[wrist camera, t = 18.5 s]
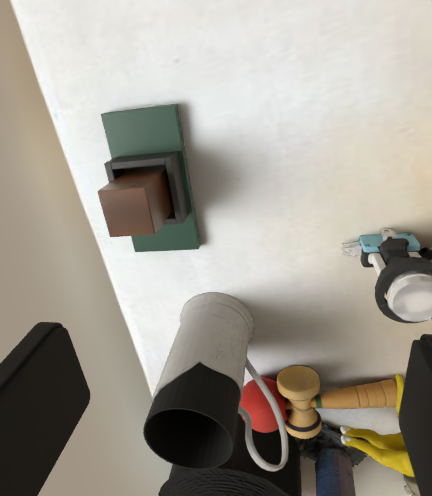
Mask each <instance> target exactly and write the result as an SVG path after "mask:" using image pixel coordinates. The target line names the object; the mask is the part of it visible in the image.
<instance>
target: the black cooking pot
mask: <svg viewBox="0 0 432 496" xmlns="http://www.w3.org/2000/svg"><path fill="white" fill-rule="evenodd" d="M245 429H246V423H245V422H244V420H243V418H242V416H241V414H239V413H238V416H237V424H236V432H235V440H234V448H233V453H232V455H231V457H230V458H229V459H228V460H227V461H226V462H225V463H223V464H222V465H220V466H218V467H215V468H211V469H203V470H198V469H188V468H183V467H180V466H177V465H174V464H173V465H172V469H171V473H170V476H169V480H167V481H166V482H165V483H164V484H163V486H162V487H161V489H160V492H159V494H158V495H159V496H302V495H301V469H300V454H299V453H300V452H299V447H298V444H297V442H296V441H295V439H294V438H293V437H292V436H291V434H289V433H288V432H287V430H286V432H287V436H288V450H289V451H288V460H287V462H286V463H285V465H284V467H283V468H281V469H279V470H277V471H267V470H265V469H263V468H261V467H260V466H259V465H258V464H257V463H256V462H255V461H254V460H253V458H252V457H251V455H250V453H249V451H248V448H247V445H246V440H245ZM252 439H253V444H254V446H255V448H256V450H257V452H258V454H259V455H260V456H261V458H262V459H263V460H264V461H266V462H267V463H269V464H272V465H279V464H280V463H281V458H282V442H281V435H280V430H279V429H277V430H275V431H273V432H268V433H262V432H258V431H256V430H254V429H252Z"/></svg>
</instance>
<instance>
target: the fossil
mask: <svg viewBox="0 0 432 496" xmlns="http://www.w3.org/2000/svg"><path fill="white" fill-rule="evenodd" d="M403 476H404V479H405V481H406V482H407V486H404V487H405V490H406V492H407V493H408V494H409V495H411V496H420V493H419V489H418V486H417V483H416V479H415V477H411V476H407V475H404V474H403Z"/></svg>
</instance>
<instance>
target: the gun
mask: <svg viewBox="0 0 432 496" xmlns="http://www.w3.org/2000/svg"><path fill="white" fill-rule="evenodd" d="M419 255H420V256H422V257H421V258H426V259H427V260H428V261H430V262H431V263H432V250H431V251H430V250H429V249H428V248H427V247H424V248H422V249H421V250H420V251H419ZM430 273H431V272H430ZM431 274H432V273H431Z"/></svg>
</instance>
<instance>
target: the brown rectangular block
mask: <svg viewBox="0 0 432 496" xmlns="http://www.w3.org/2000/svg"><path fill="white" fill-rule="evenodd" d="M98 195H99V198H100V202H101V206H102V209H103V213H104V216H105V220H106V224H107V227H108V231H109V234H110V237H119V236H137V235H155V234H156V233H157V231H158V230H159V229H160V227H161V226H162V224H163V223H164V222H165V220H166V219H167V218H168V216H169V215H170V214H171V212H172V211H173V209H174V206H173V201H172V195H171V190H170V185H169V179H168V174H167V169H166V165H163V166H152V167H141V168H131V169H129V170H127V171H126V172H124V173H123V174H122V175H120V176H119V177H117V178H116V179H115V180H113V181H112V182H110V183H109V184H107V185H106V186H105V187H103V188H102V189H100V190H99V191H98Z"/></svg>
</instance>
